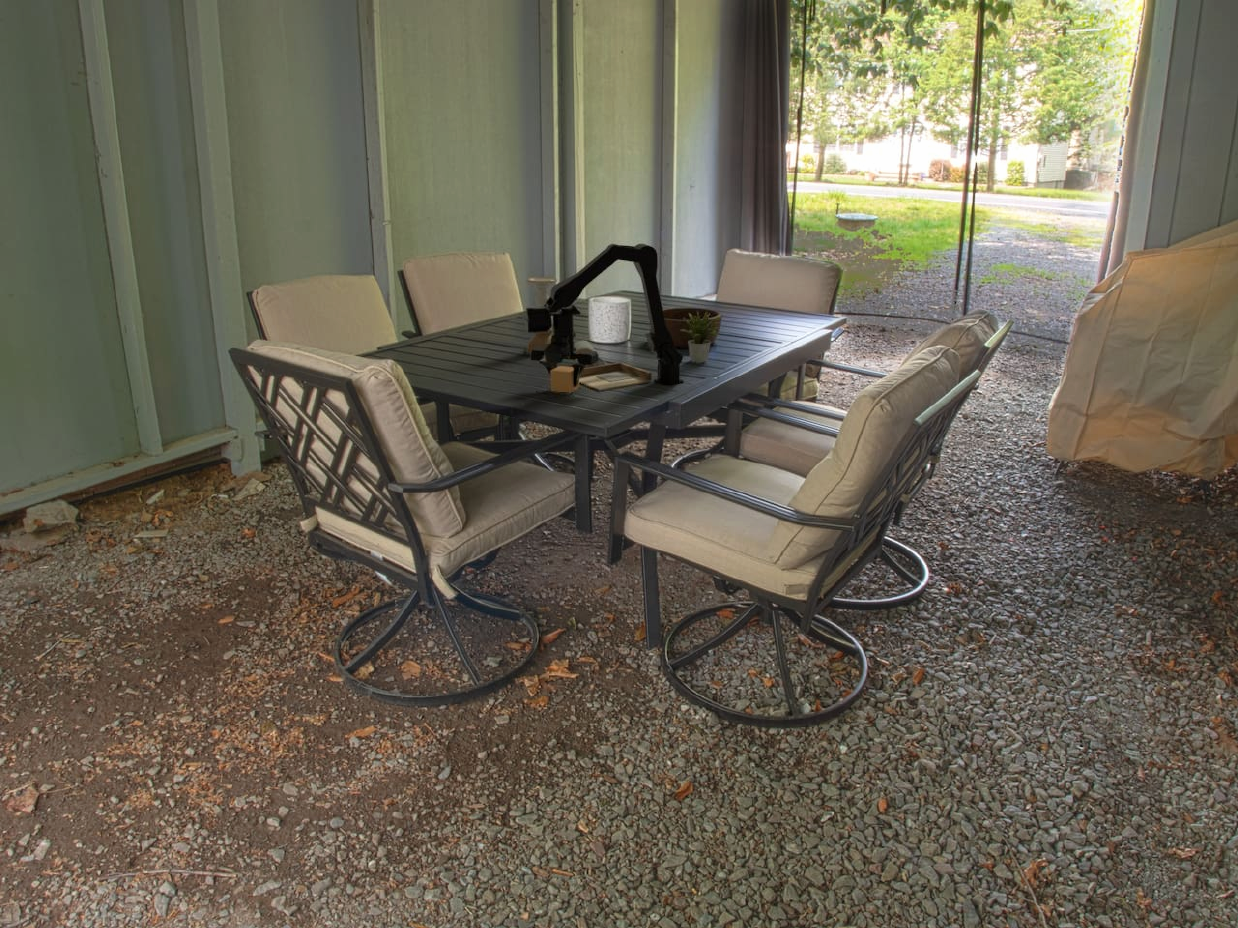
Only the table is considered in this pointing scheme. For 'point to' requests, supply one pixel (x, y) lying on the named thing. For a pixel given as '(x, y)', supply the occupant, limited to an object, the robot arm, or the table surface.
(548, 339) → the candle holder
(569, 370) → the cube
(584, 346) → the ceramic mug
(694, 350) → the house plant
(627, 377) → the arena
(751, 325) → the table surface
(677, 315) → the wooden bowl
